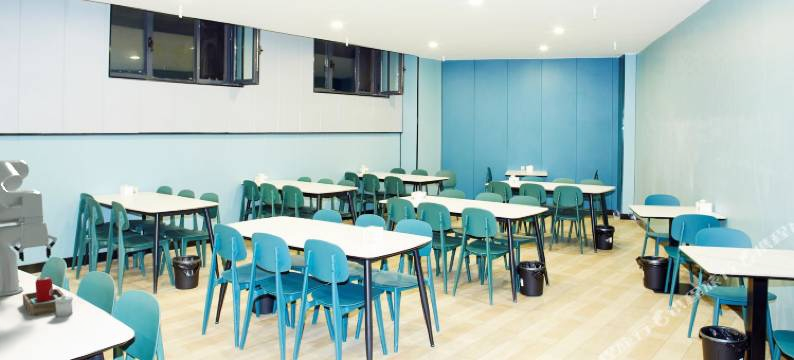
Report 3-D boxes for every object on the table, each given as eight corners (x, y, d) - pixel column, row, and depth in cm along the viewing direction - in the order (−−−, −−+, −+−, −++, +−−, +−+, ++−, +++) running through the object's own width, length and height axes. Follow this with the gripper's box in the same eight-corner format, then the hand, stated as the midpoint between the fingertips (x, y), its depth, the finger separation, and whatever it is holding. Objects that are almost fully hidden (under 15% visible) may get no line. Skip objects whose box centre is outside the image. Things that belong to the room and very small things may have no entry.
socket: (30, 304, 259) (30, 299, 259) (56, 300, 265) (56, 294, 265) (34, 310, 251) (33, 304, 251) (60, 305, 258) (60, 299, 257)
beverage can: (57, 302, 261) (55, 276, 260) (47, 307, 255) (45, 279, 254) (43, 302, 262) (41, 276, 261) (33, 307, 256) (31, 279, 255)
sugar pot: (57, 312, 250) (56, 293, 249) (74, 311, 252) (73, 292, 251) (53, 317, 244) (52, 298, 243) (71, 316, 246) (70, 296, 245)
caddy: (23, 304, 263) (22, 294, 262) (59, 298, 271) (58, 288, 271) (31, 316, 246) (30, 305, 245) (69, 309, 254) (68, 299, 254)
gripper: (10, 223, 247) (13, 263, 249) (57, 219, 258) (59, 257, 260) (8, 221, 253) (10, 260, 255) (54, 216, 264) (56, 254, 266)
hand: (35, 259), depth 257 cm, fingers open, 9 cm apart
